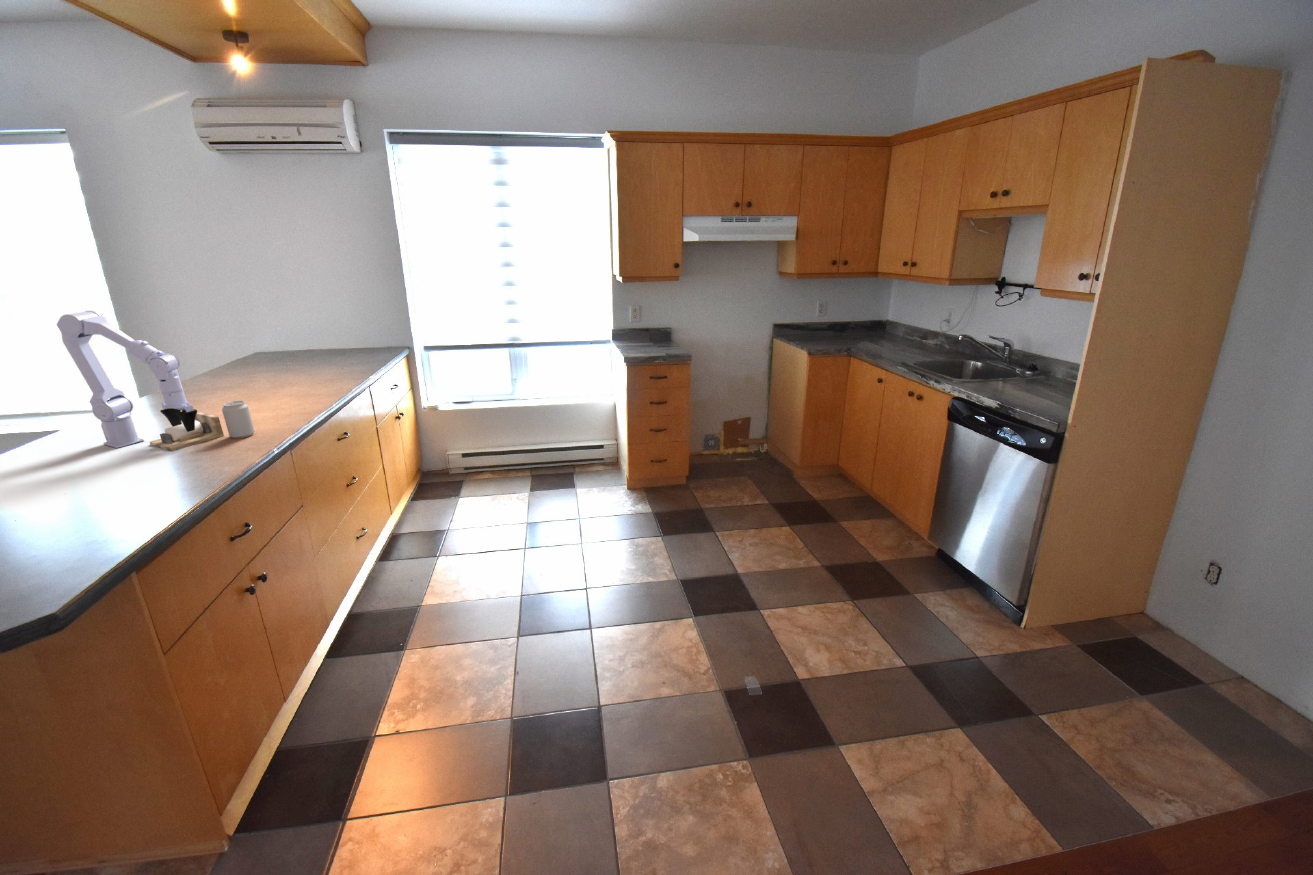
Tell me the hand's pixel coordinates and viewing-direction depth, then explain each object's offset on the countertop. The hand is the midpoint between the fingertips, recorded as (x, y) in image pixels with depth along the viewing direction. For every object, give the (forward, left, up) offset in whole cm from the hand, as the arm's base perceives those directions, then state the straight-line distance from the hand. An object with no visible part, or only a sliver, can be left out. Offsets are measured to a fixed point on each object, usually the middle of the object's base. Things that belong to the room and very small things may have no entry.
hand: (184, 429), depth 203 cm
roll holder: (0, 0, -4) cm, 4 cm away
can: (+13, +11, -4) cm, 17 cm away
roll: (0, 0, -3) cm, 3 cm away
